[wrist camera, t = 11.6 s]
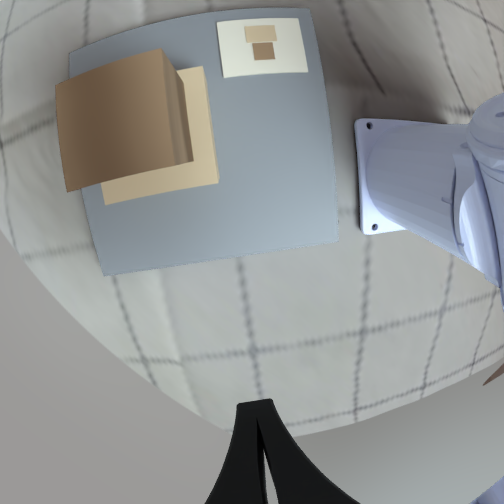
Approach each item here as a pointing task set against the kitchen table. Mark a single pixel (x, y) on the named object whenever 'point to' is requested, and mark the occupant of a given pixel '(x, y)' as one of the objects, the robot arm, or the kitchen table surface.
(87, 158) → the walnut block
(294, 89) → the build board
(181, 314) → the kitchen table surface
